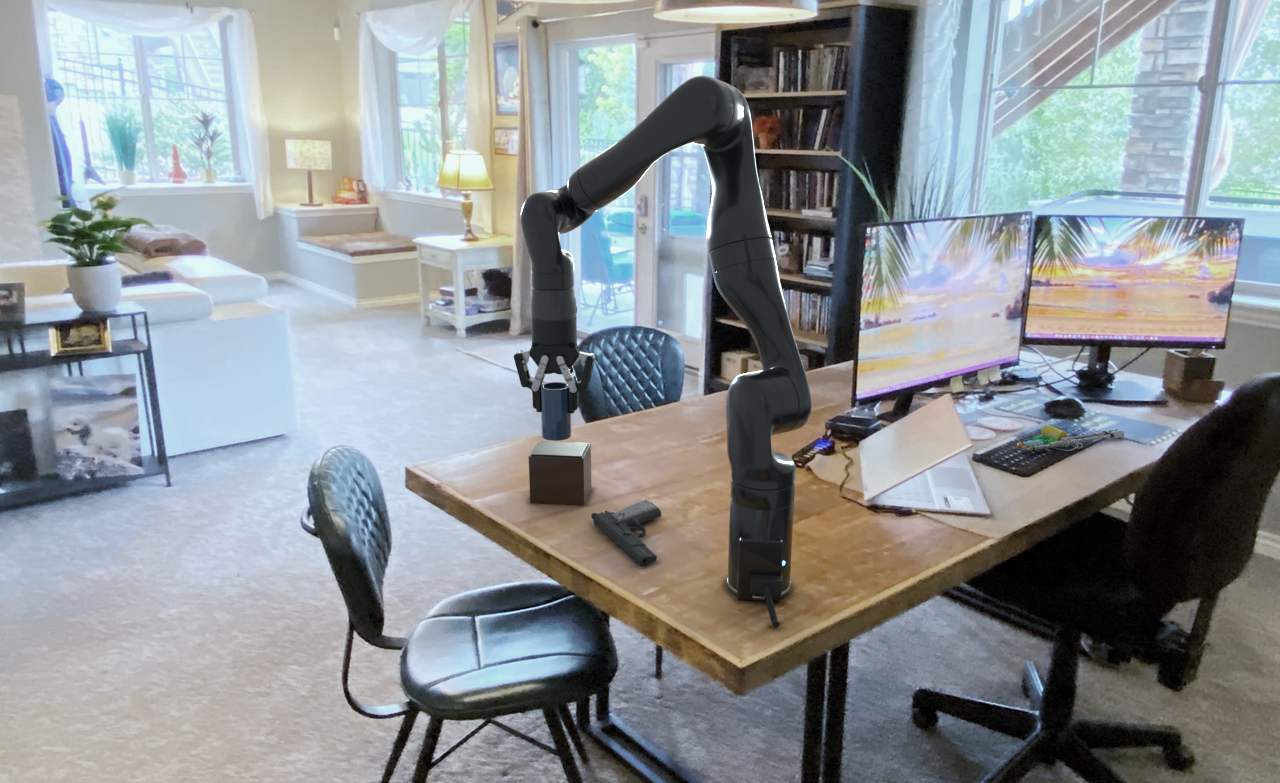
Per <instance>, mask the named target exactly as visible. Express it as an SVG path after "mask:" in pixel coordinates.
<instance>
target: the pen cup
mask: <svg viewBox="0 0 1280 783" xmlns="http://www.w3.org/2000/svg"><path fill="white" fill-rule="evenodd" d="M569 392H570V389H569V387H568V384H567V382H563V381H550V382H549V381H548V382H544V383H542V385H541V386H540V394H541V412H540V420H541V421H540V422H541V425H540V426H541V437H542V438H543V440H545V441H550V442H561V441H565V440H568V439H570V438H571V437H572V414H571V413H569Z"/></svg>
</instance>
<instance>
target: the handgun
mask: <svg viewBox="0 0 1280 783" xmlns="http://www.w3.org/2000/svg"><path fill="white" fill-rule="evenodd" d="M590 516H591V517H590V518H591V519H592V522H593V524H594V526H596V527H598V528H599V529H600V530H601V531H602V532H603V533H604V534H605V535H607V536H608V537H609V538H610V539H611V540H612V541H613V542H614V543H616V545H618V546H619V547H620V548H621V549H622V550H623V551H624V552H625V553H626V554H628V555H629V557H631V558H632V559H633V560H634V562H635V563H638V565H640V566H646V565H649V564H651V563H655V562H656V561H657V558H658V556H657V555H656V554H655V553H654V552H653V551H652V550H650V549H649V548H648V547H647V545H646V543H644V542H643V541H642V540H641V539H642V538H644V537H645V536H646V534H647V530H646V528H645V527H644V526H642V524H643V523H646V522H649V521H653V520H654V519H657V518H660V517H661V516H662V511H661V509H660V508H659V507H658V506H657V505H656V504H654V503H653V502H652V501H650V500H648V499H643V500H641V501H638V502H635V503H633V504H631V505H628V506H627V507H625V508H623V509H620V510H618V511H616V512H612V511H608V510H604V512H599V513H597V512H592V513H591V515H590ZM633 531H641V532H639V533H638V532H633Z"/></svg>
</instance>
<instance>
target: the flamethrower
mask: <svg viewBox="0 0 1280 783" xmlns="http://www.w3.org/2000/svg"><path fill="white" fill-rule="evenodd" d="M1040 435H1041V436H1040ZM1040 435H1037V437H1033V436H1032V438H1031V440H1028V441H1018V442H1017V443H1016V446H1017V448H1018V449H1022V450H1023V451H1027V452H1032V451H1036V450H1037V451H1038V450H1042V449H1044V450H1046V451H1049V452H1051V449H1055V450H1058V451H1065V452H1070V451H1071V452H1072V451H1073V450H1076V449H1077V450H1080V449H1082V448H1083V447H1084V445H1083V443H1084V442H1089V441H1095V440H1100V439H1106V438H1109V439H1114V440H1115V439H1121V438H1124V437H1125V432H1124V430H1123V429H1112V430H1102V431H1099V432H1092V433H1085V434H1081V435H1075V436H1068V433H1067V432H1066V431H1064V430H1063V429H1059V428H1057V427H1054V426H1052V425H1050V424H1045V425H1043V427H1041V429H1040ZM1079 445H1080V446H1079ZM1069 446H1071V447H1072V448H1071V449H1062V448H1067V447H1069ZM1060 447H1061V448H1060Z"/></svg>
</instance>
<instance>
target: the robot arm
mask: <svg viewBox="0 0 1280 783" xmlns="http://www.w3.org/2000/svg"><path fill="white" fill-rule="evenodd" d="M753 132H754V131H753V122H752V115H751V110H750V106H749V103H748V101H747V99H746V97H745V96H744V94H743V93H742V91H741V90H739V89H738V88H737V87H735V86H733V85H731V84H729V83H727V82H726V81H723V80H720V79H717V78H715V77H712V76H707V75H696V76H693V77H691V78H688V79H687V80H686V81H684V82H683V83H681V84H680V85H679V86H678V87H677V88H675V89H674V90H673V91H672V92H671V93H670V94H669V95H668V96H666V97H665V99H663V101H661V102H660V103H659V105H657V106H656V107H655V108H654V109H653V110H652V111H651V112H650V113H648V115H646V117H644V118H643V119H642V120H641V121H640V122H639V123H638V124H637V125H636V126H635V127H633V128H632V129H631V130H630V131H629V132H628V133H626V134H625V135H624V136H622V138H621V139H619V140H618V141H616V142H615V143H614V144H612V145H611V146H610V147H608V148H607V149H605V150H604V151H602V152H601V153H600V154H598V155H596V156H595V157H593V158H592V159H591V160H589V161H587V162H586V163H584V164H583V165H581V166H580V167H578V168H577V169H576V170H574V171H573V172H572V173H571V174H570V176H569V177H568V180H567V183H566V184H564V185H563V186H561V187H559V188H557V189H554V190H548V191H547V190H546V191H537V192H534V193H531V194H529V195H528V196H527V197H526V198H525V200H524V202H523V204H522V207H521V209H520V218H519V220H520V227H521V232H522V236H523V240H524V243H525V247H526V251H527V254H528V256H529V260H530V274H531V275H530V276H531V278H530V279H531V293H530V327H531V328H530V329H531V330H530V331H531V345H530V348H529V350H522V349H520V350H518V351H516V353H514V355H513V360H514V363H515V367H516V371H517V374H518V375H517V376H518V378H519V381H520V385H521V387H522V388H527V389H529V390H531V394H532V399H531V400H532V408H533V409H534V410H536V413H541V394H540V386H541V385H542V384H543V382H544V380H545V377H546V375H552V374H555V375H562V377H563V379H564V381H565V383H567V384H568V387H569V389H570V392H569V413H571V415H572V414H575V412H576V411H577V410H578V408H579V406H580V394H579V393H580V391H582V390H583V391H586V390H587V389H588V386H589V385H590V383H591V378H592V374H593V371H594V365H595V361H596V358H597V356H596V353H594V352H590V353H587V352H584V351H581V350H580V348H579V346H578V331H577V330H578V328H577V326H578V325H577V324H578V323H577V318H578V317H577V313H578V306H577V296H576V291H575V290H576V289H575V262H574V257H573V255H572V253H571V252H569V251H568V250H565V249H562V245H561V240H560V235H563V234H567V233H569V232H572V231H574V230H575V229H578V228H579V227H581V226H582V225H583V224H585V223H586V222H587V221H588V220H589V219H590V218H591V217H592V216H593V215H594V214H595V213H596V212H598V211H599V210H601V209H603V208H604V207H606V206H608V205H609V204H611V203H613V202H614V201H616V200H617V199H619V198H620V197H622V196H624V195H625V194H627V193H628V192H629V191H630V190H632V189H633V188H634V187H635V186H636V185H637V184H638V183H639V182H640V180H641V179H642V178H643V177H644V176H645V174H646V173H647V171H648V170H649V169H650V168H651V167H652V165H654V163H656V162H658V160H660V159H661V158H662V157H663V156H665V155H667V154H669V153H670V152H672V151H675V150H676V149H677V150H678V149H679V148H681V147H684V146H687V145H689V144H695V145H699V146H701V147H702V150H703V152H704V156H705V159H706V163H707V168H708V172H709V176H710V182H711V193H712V194H711V201H710V202H711V203H710V208H709V214H708V220H707V226H706V227H707V229H706V245H707V253H708V257H709V262H710V263H709V264H710V268H711V272H712V276H713V280H714V284H715V287H716V289H717V291H718V292H719V294H720V296H721V297H722V298H723V300H724V302H726V304H727V306H728V307H729V308H730V309H731V310H732V312H733V313H734V314H735V315H736V316H737V317H738V318H739V320H740V321H741V322H742V324H743V325H744V326H745V328H747V330H748V332H749V333H750V335H751V337H752V339H753V340H754V343H755V345H756V348H757V351H758V355H759V359H760V362H761V367H762V370H757V371H750V372H745V373H742V374H739V375H737V376H735V377H734V378H733V379H732V381H731V382H730V385H729V386H728V390H727V395H726V403H725V408H726V409H725V415H726V416H725V417H726V418H725V420H726V452H727V459H728V462H729V466H730V493H729V494H730V497H729V521H728V522H729V523H728V525H729V526H728V553H727V554H728V557H727V564H728V565H727V577H726V586H727V589H728V590H729V591H730V592H731V593H733V594H734V595H736V598H737V600H744V601H745V600H746V601H759V602H760V601H761V602H765V604H766V607H767V611H768V615H769V618H770V622H771V625H772V626H773V627H774V628H778V627H779V626H780V622H779V619H778V616H777V611H776V608H775V605H774V602H777V603H778V602H779V603H780V602H781V598H783V597H785V596H787V595H788V594H789V592H790V591H791V586H792V584H791V582H792V581H791V570H792V569H791V568H792V549H793V548H792V547H793V532H794V531H793V530H794V529H793V528H794V513H795V512H794V511H795V510H794V509H795V494H796V477H797V476H796V475H797V473H796V472H797V467H796V463H795V461H794V459H793V458H791V457H790V456H788V455H786V454H785V453H781V452H779V451H775V450H772V436H775V435H779V434H783V433H788V432H792V431H796V430H799V429H802V428H803V427H804V426H805V425H806V424H807V423H808V421H809V420H810V417H811V413H812V407H813V406H812V403H813V402H812V393H811V388H810V384H809V380H808V376H807V373H806V371H805V366H804V363H803V361H802V358H801V354H800V351H799V347H798V345H797V341H796V338H795V335H794V332H793V329H792V325H791V321H790V317H789V312H788V309H787V305H786V301H785V297H784V292H783V287H782V283H781V278H780V272H779V266H778V260H777V255H776V250H775V246H774V241H773V237H772V232H771V229H770V225H769V220H768V216H767V211H766V207H765V201H764V197H763V192H762V189H761V184H760V179H759V175H758V168H757V162H756V161H757V160H756V153H755V152H756V151H755V142H754V133H753ZM530 358H531V359H532V361H533V362H534V364H535V365H536V366H537V370H536V372H535V375H534V378H533V379H532V378H531V374H530V369H529V367H528V363H529V361H530ZM578 359H579V360H580V364H581V366H582V367H583V371H582V376H581V379H580V380H579V381H578V377H577V375H576V370H575V368H574V364H575V363H576V362H577V360H578Z"/></svg>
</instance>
